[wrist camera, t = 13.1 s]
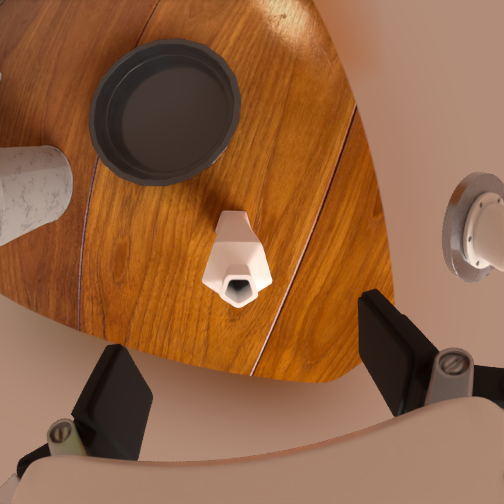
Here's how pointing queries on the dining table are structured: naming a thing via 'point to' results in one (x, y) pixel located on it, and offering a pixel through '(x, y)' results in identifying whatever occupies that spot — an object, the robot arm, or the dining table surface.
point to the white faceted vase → (236, 261)
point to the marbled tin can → (32, 188)
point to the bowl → (164, 112)
